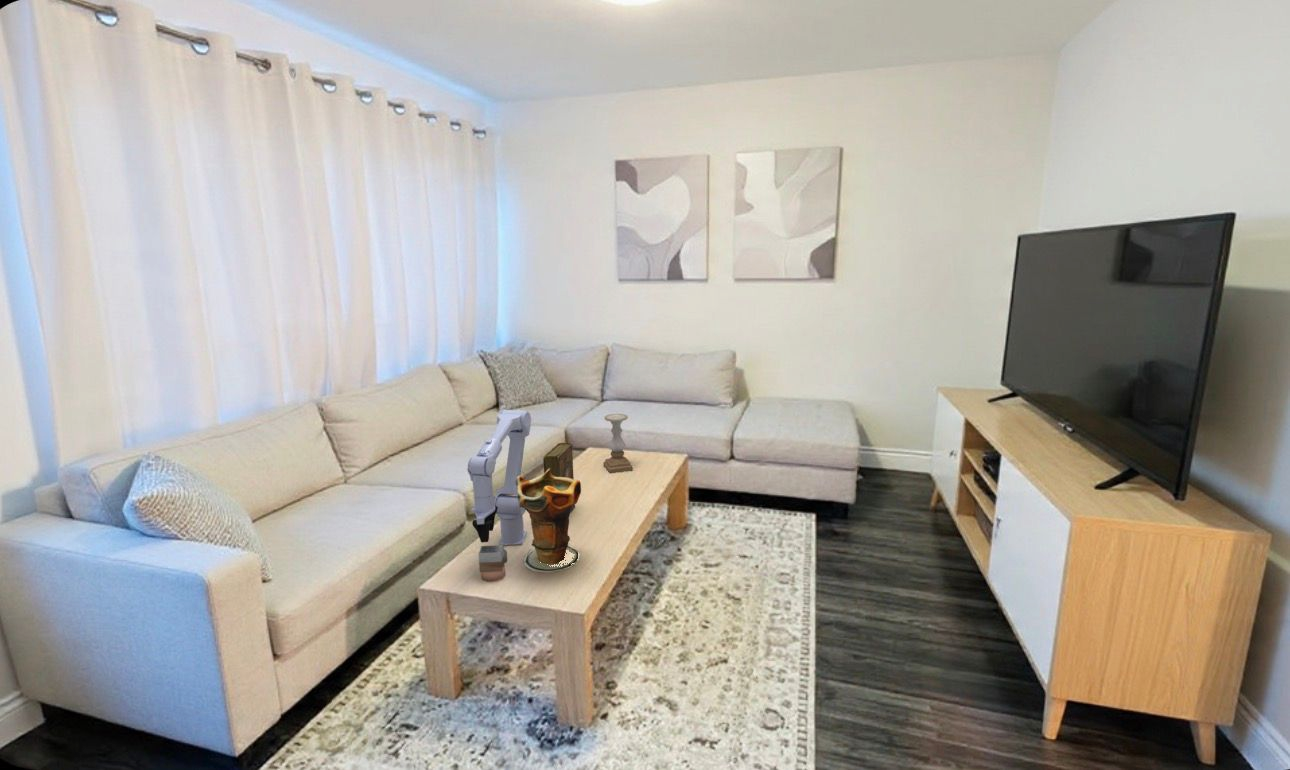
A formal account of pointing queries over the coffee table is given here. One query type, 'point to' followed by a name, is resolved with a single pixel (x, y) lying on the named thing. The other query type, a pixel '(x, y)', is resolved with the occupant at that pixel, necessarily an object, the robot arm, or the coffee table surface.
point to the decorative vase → (548, 518)
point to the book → (560, 461)
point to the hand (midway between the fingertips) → (487, 536)
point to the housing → (491, 558)
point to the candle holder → (617, 446)
